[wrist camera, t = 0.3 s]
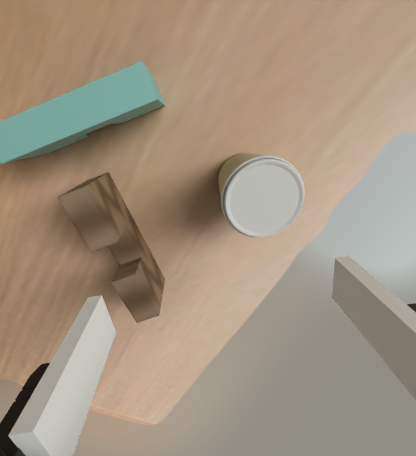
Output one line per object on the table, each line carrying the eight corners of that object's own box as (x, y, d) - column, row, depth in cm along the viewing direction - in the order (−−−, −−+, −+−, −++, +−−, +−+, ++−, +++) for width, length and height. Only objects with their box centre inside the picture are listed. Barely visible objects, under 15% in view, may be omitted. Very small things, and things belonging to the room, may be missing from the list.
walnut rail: (87, 180, 37) (57, 197, 28) (108, 172, 36) (84, 186, 28) (146, 285, 44) (136, 322, 36) (164, 279, 44) (159, 315, 36)
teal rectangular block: (30, 128, 34) (-22, 130, 25) (154, 77, 32) (141, 60, 24) (46, 154, 35) (1, 163, 27) (165, 105, 34) (157, 99, 25)
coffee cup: (243, 219, 41) (263, 254, 30) (199, 181, 38) (204, 205, 27) (285, 175, 38) (324, 196, 27) (243, 132, 36) (267, 136, 25)
